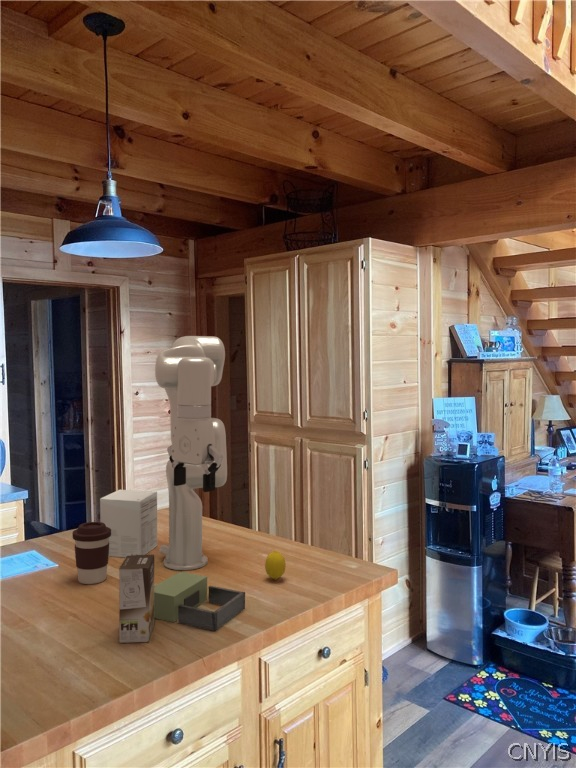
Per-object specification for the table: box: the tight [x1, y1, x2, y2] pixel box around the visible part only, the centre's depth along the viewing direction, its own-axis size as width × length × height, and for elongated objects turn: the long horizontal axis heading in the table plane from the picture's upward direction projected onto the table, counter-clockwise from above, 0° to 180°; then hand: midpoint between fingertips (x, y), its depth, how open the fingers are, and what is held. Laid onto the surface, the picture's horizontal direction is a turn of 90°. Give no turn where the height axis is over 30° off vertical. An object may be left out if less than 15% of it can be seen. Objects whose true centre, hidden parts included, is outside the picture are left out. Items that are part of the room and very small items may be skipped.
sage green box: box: [154, 571, 208, 623], centre depth 150 cm, size 8×14×6 cm, turn 155°
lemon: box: [264, 550, 286, 581], centre depth 169 cm, size 6×6×8 cm
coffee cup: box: [72, 521, 111, 585], centre depth 167 cm, size 10×10×15 cm
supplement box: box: [99, 489, 158, 558], centre depth 192 cm, size 13×13×18 cm
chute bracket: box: [177, 585, 246, 632], centre depth 146 cm, size 10×14×4 cm
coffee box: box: [118, 554, 155, 644], centre depth 136 cm, size 9×6×16 cm
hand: (194, 488), depth 141 cm, fingers open, 9 cm apart
